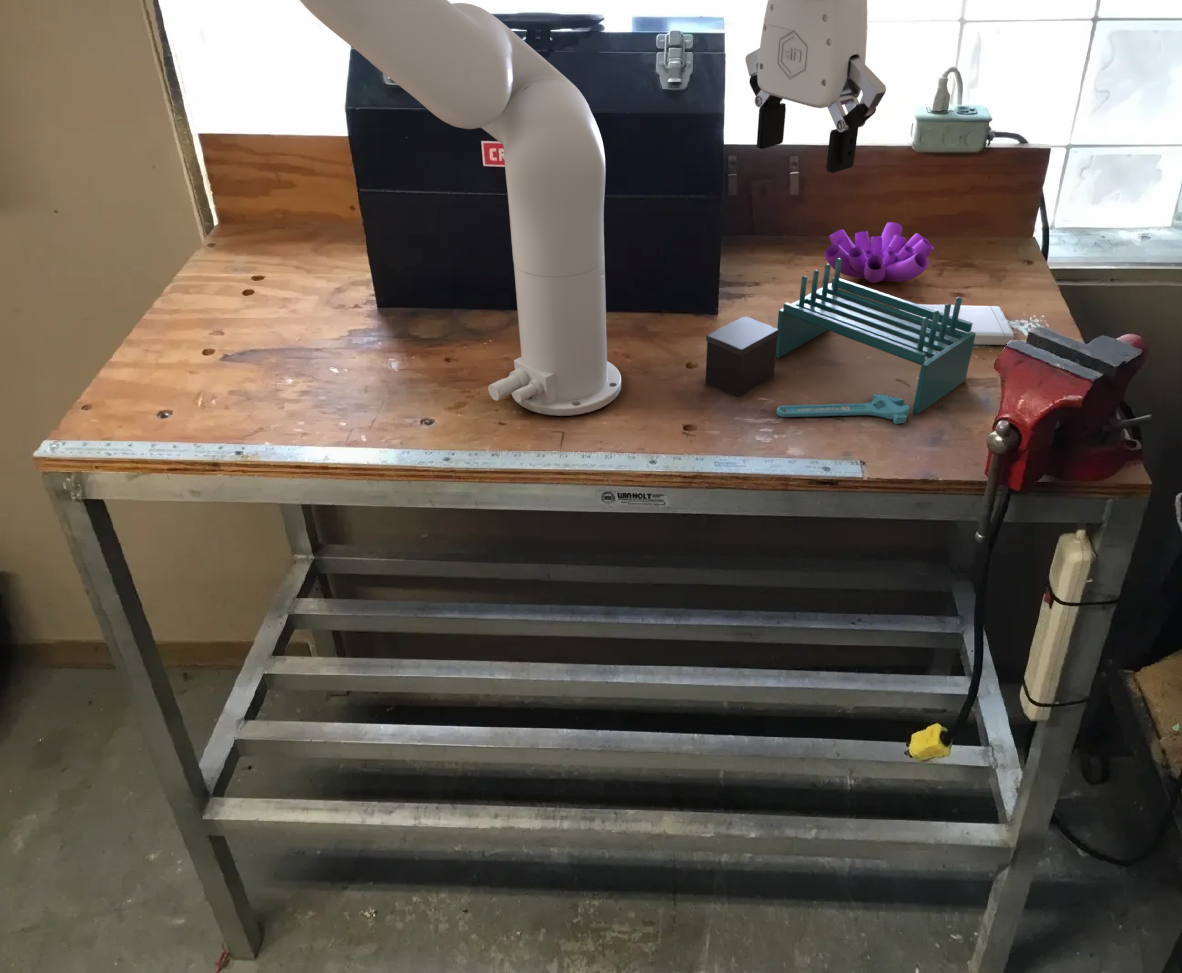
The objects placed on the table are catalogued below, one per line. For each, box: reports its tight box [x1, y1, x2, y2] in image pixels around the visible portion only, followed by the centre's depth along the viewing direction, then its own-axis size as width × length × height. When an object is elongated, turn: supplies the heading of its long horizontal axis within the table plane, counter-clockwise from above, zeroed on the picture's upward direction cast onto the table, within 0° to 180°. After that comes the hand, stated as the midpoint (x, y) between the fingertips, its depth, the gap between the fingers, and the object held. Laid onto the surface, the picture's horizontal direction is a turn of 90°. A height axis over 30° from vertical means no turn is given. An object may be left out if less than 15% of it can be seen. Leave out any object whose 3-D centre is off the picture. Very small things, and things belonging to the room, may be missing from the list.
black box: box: [705, 315, 779, 398], centre depth 111 cm, size 7×5×6 cm
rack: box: [776, 258, 976, 416], centre depth 111 cm, size 10×19×10 cm, turn 43°
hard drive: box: [896, 303, 1015, 346], centre depth 120 cm, size 2×8×12 cm
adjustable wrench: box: [776, 393, 911, 425], centre depth 105 cm, size 14×1×5 cm
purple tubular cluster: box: [824, 222, 934, 284], centre depth 131 cm, size 11×15×10 cm
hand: (803, 157), depth 99 cm, fingers open, 9 cm apart
